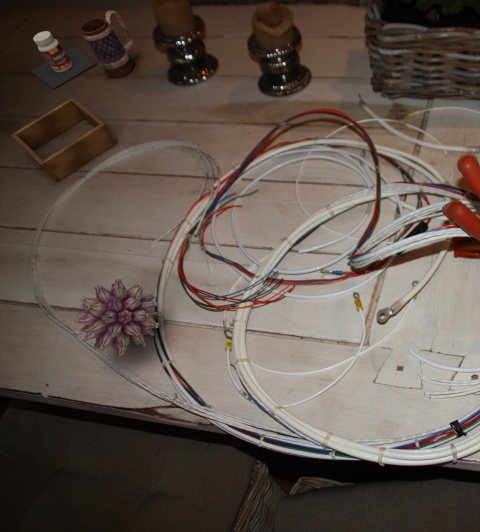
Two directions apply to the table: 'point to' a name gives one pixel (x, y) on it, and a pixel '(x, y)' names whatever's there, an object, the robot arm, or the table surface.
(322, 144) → the table surface
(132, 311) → the flower
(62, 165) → the storage box
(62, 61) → the pill bottle
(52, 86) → the mat
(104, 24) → the mug
